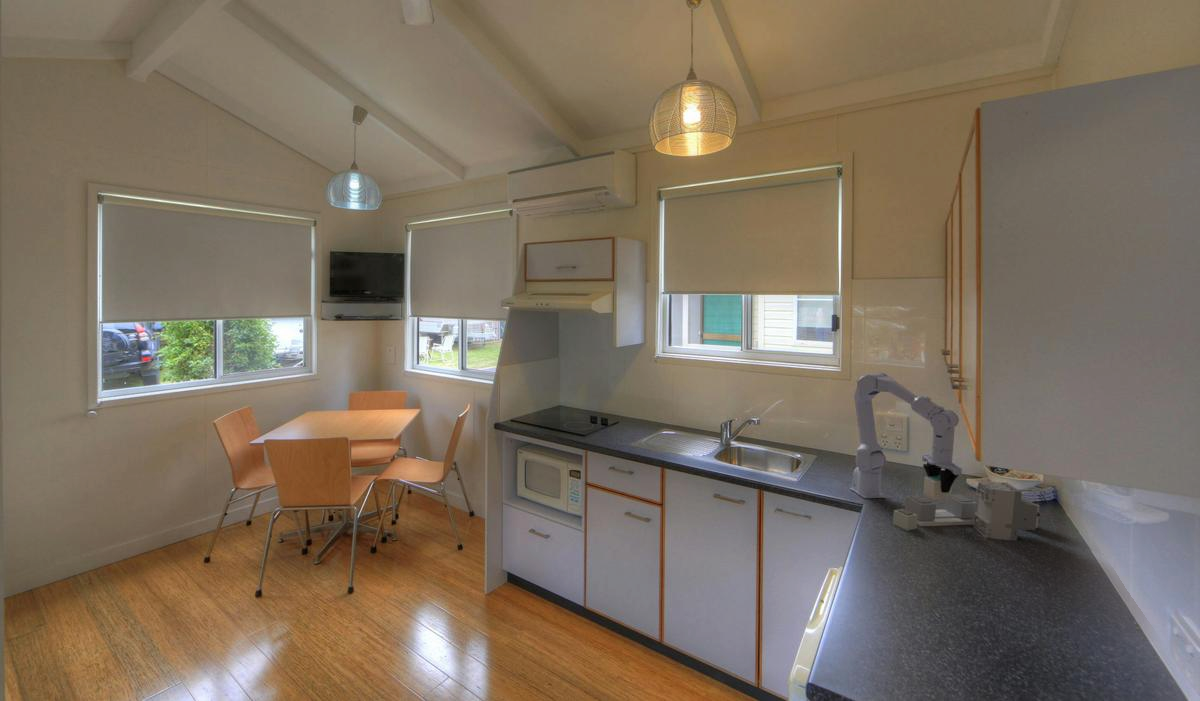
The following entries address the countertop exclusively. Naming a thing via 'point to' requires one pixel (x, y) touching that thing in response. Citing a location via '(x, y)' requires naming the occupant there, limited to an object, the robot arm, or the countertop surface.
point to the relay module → (934, 488)
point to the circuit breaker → (1003, 511)
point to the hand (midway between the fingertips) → (939, 489)
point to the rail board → (942, 511)
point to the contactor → (905, 519)
